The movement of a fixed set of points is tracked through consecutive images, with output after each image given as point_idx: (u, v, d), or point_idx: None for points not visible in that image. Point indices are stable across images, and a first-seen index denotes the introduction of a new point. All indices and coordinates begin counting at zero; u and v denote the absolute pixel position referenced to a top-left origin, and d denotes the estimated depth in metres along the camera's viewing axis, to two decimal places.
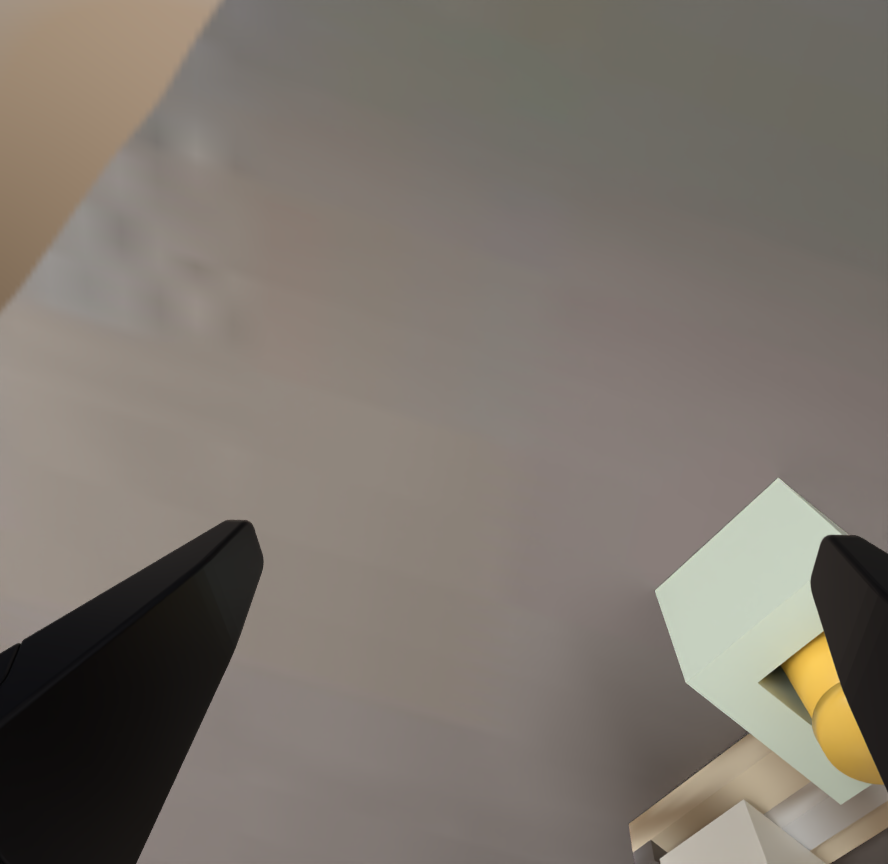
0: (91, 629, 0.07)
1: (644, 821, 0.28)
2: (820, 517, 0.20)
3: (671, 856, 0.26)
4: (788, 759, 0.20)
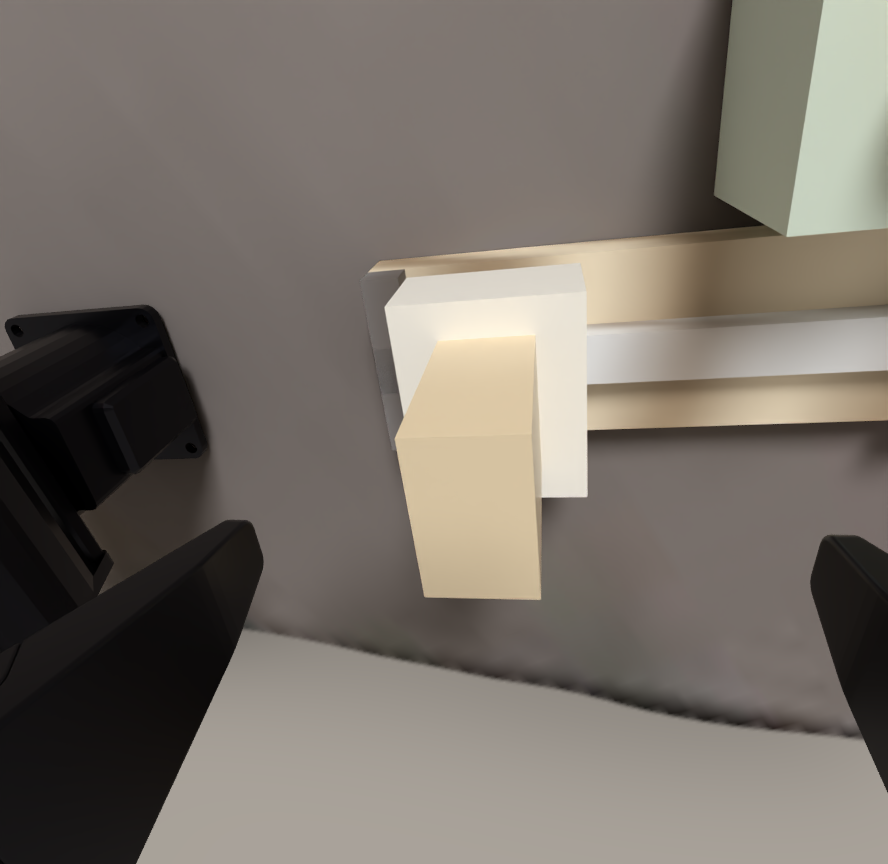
0: (91, 629, 0.07)
1: (406, 261, 0.19)
2: None
3: (427, 277, 0.17)
4: (814, 99, 0.11)
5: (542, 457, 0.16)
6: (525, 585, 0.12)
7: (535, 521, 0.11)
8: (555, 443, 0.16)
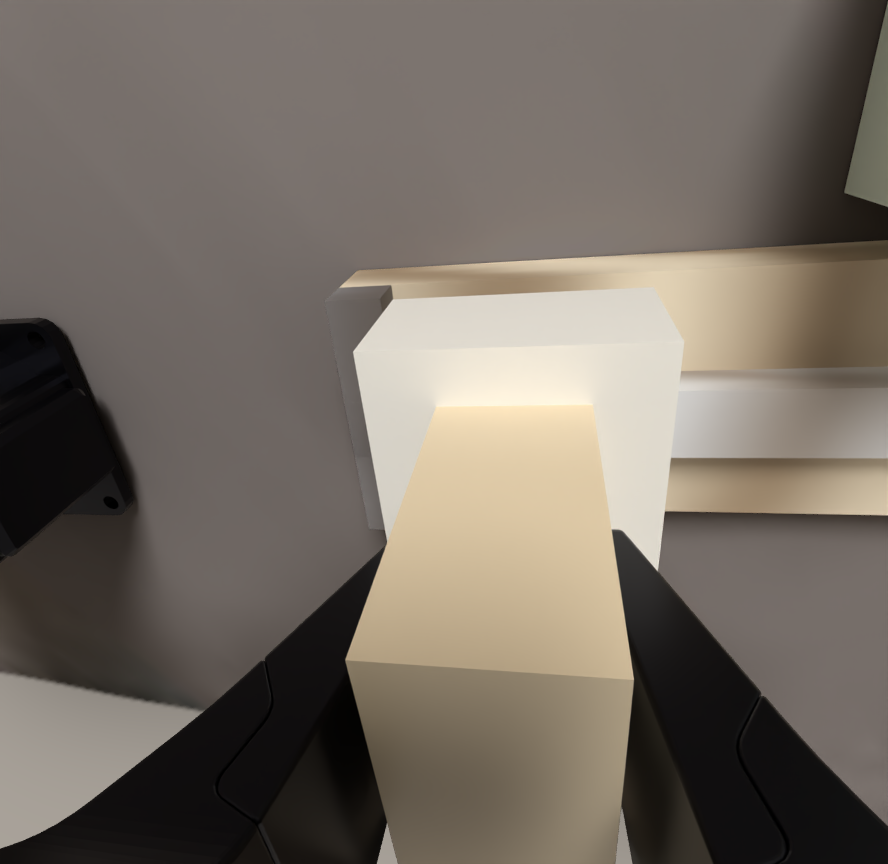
0: (336, 645, 0.07)
1: (394, 273, 0.14)
2: None
3: (423, 301, 0.11)
4: None
5: None
6: None
7: (619, 810, 0.06)
8: None
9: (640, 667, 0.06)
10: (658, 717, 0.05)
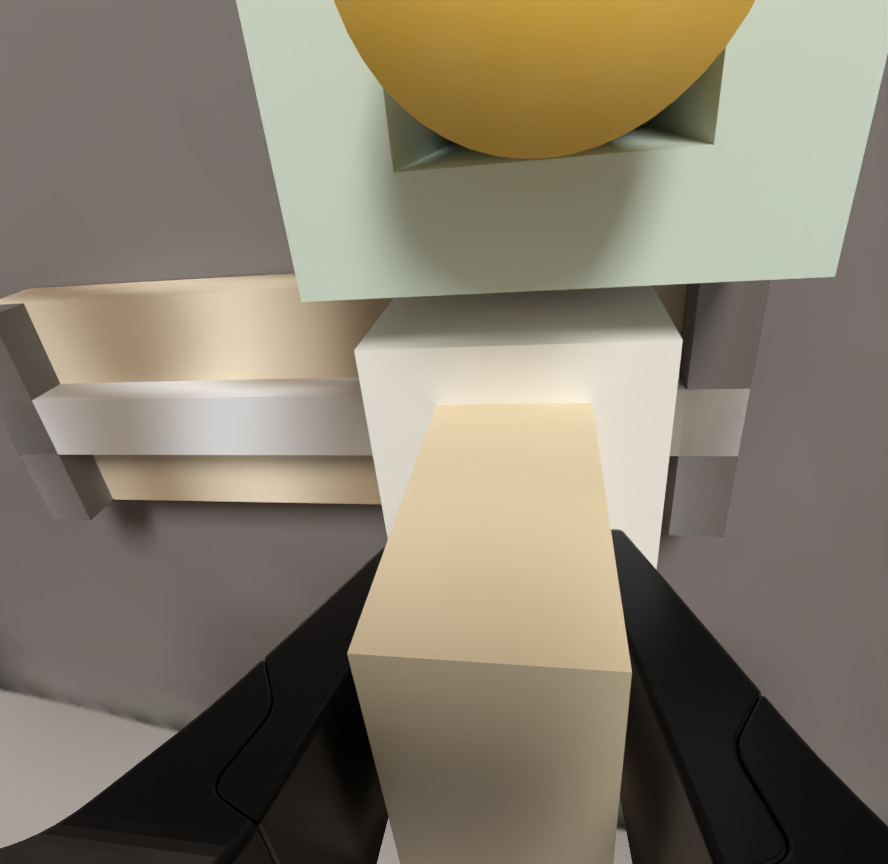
0: (336, 645, 0.07)
1: (49, 291, 0.15)
2: None
3: (423, 300, 0.11)
4: (267, 104, 0.07)
5: None
6: None
7: (617, 802, 0.06)
8: None
9: (640, 667, 0.06)
10: (658, 717, 0.05)
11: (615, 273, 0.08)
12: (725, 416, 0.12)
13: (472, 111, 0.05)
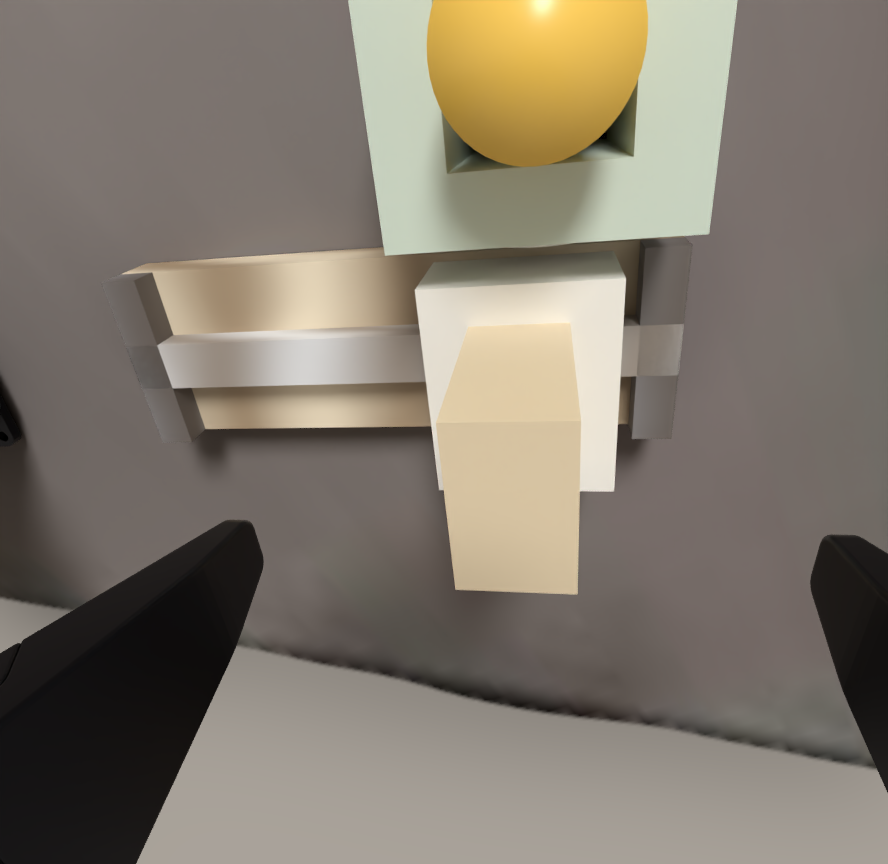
0: (91, 629, 0.07)
1: (165, 264, 0.20)
2: None
3: (455, 262, 0.16)
4: (372, 134, 0.12)
5: None
6: (562, 579, 0.12)
7: (578, 512, 0.11)
8: (584, 435, 0.16)
9: None
10: None
11: (580, 234, 0.12)
12: (667, 345, 0.17)
13: (499, 143, 0.10)
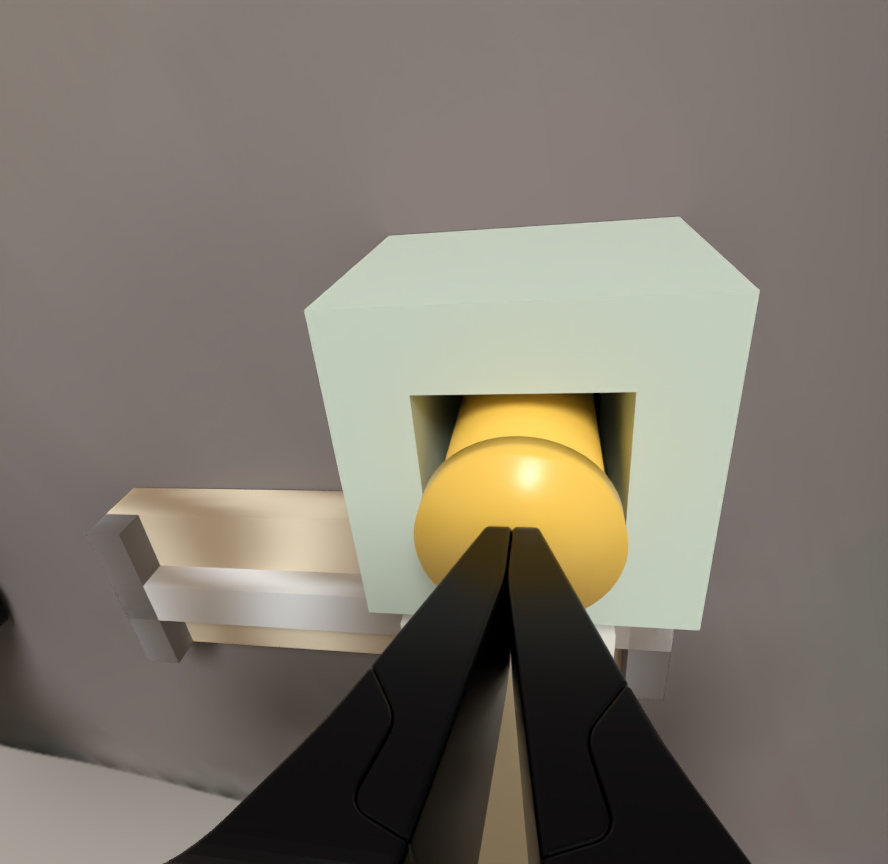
0: (444, 652, 0.06)
1: (152, 496, 0.20)
2: (718, 256, 0.10)
3: None
4: (355, 524, 0.12)
5: None
6: None
7: None
8: None
9: (518, 659, 0.06)
10: (522, 706, 0.06)
11: None
12: (660, 628, 0.17)
13: None
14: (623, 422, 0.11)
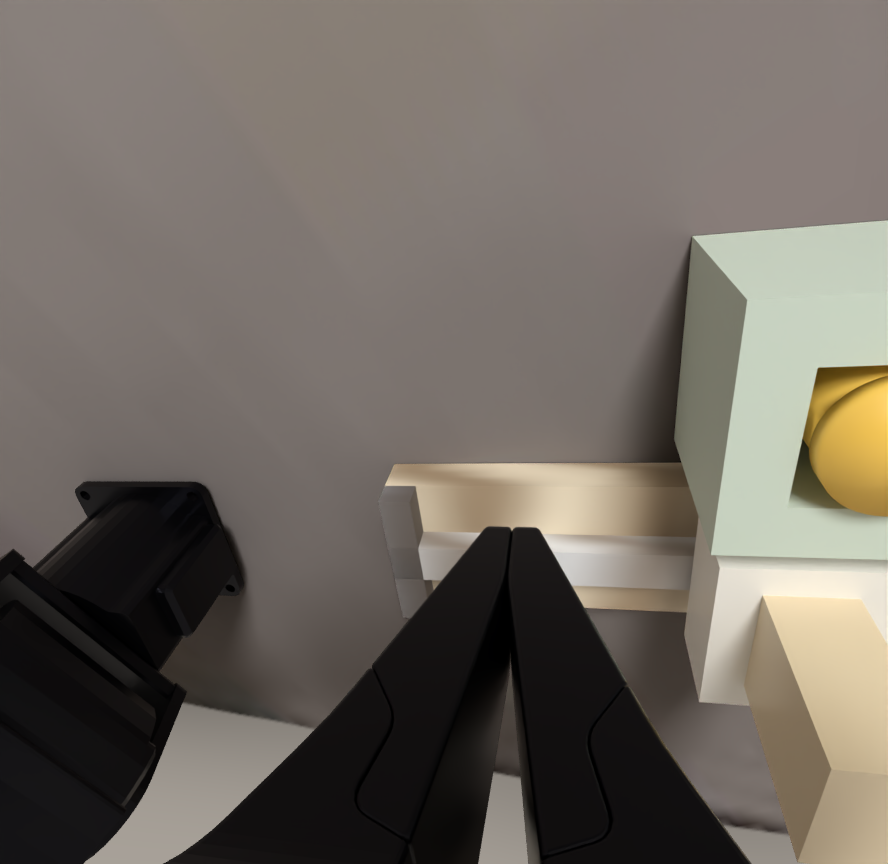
0: (444, 652, 0.06)
1: (417, 470, 0.23)
2: None
3: None
4: (726, 478, 0.14)
5: None
6: None
7: None
8: None
9: (518, 659, 0.06)
10: (522, 706, 0.06)
11: None
12: None
13: (861, 502, 0.13)
14: None
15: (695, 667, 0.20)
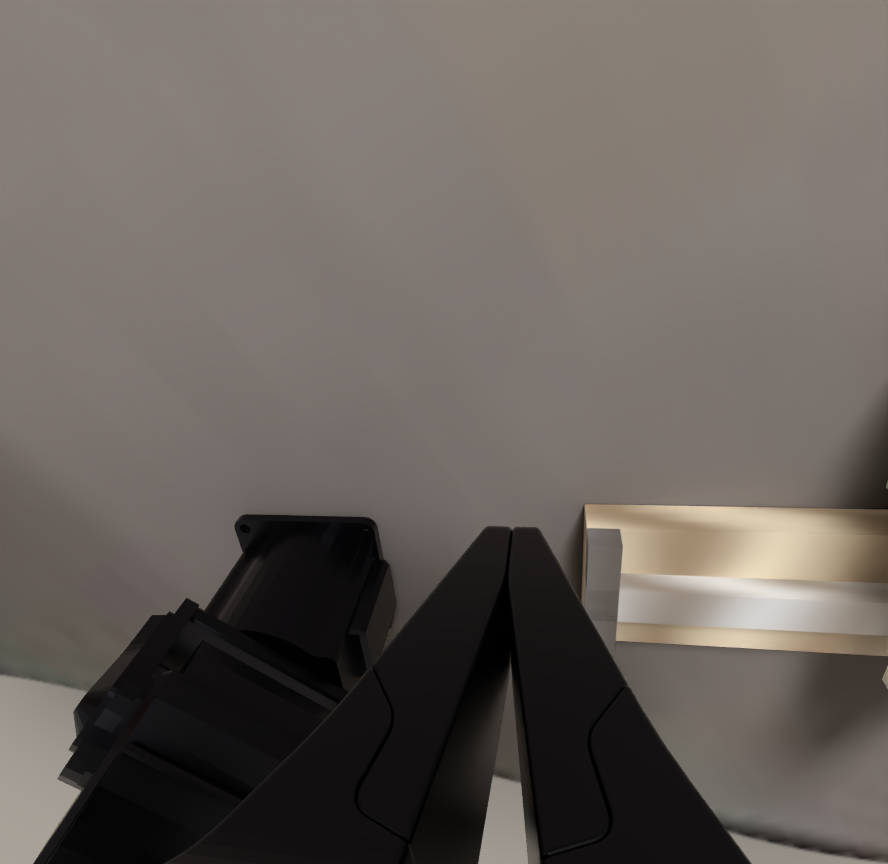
0: (445, 651, 0.06)
1: (612, 511, 0.23)
2: None
3: None
4: None
5: None
6: None
7: None
8: None
9: (518, 659, 0.06)
10: (523, 706, 0.06)
11: None
12: None
13: None
14: None
15: None
